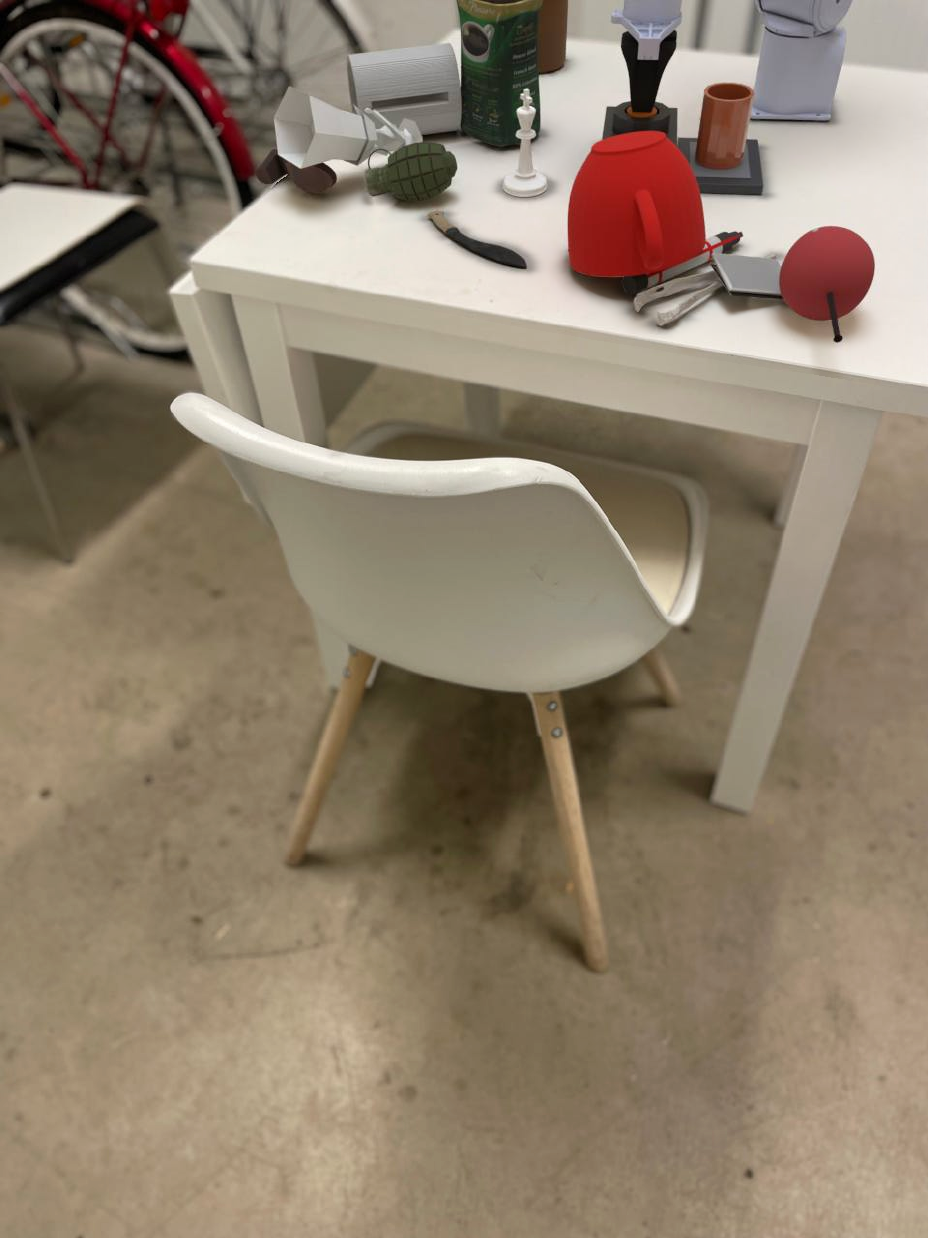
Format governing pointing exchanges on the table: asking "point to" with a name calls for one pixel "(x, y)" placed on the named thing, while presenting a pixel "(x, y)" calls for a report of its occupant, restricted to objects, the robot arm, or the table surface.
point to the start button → (641, 115)
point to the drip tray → (727, 171)
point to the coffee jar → (498, 67)
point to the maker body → (640, 121)
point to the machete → (478, 243)
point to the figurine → (334, 132)
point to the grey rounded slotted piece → (408, 86)
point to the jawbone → (680, 285)
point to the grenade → (413, 172)
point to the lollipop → (827, 274)
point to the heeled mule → (296, 173)
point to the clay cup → (723, 125)
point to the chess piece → (525, 157)
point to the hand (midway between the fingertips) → (641, 110)
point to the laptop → (748, 275)
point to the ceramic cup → (634, 208)
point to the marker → (712, 245)
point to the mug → (552, 35)
